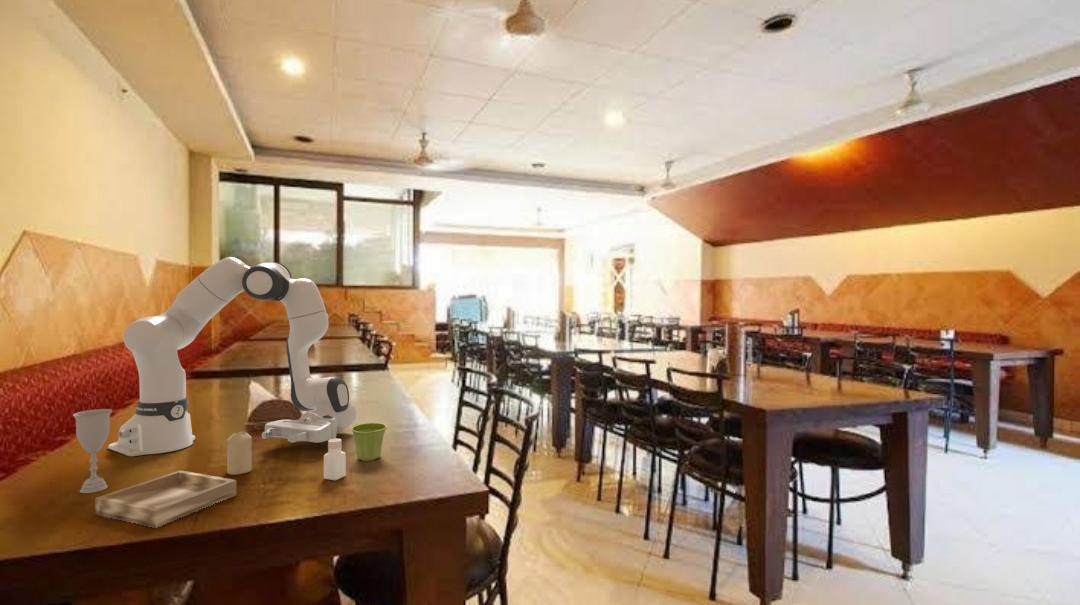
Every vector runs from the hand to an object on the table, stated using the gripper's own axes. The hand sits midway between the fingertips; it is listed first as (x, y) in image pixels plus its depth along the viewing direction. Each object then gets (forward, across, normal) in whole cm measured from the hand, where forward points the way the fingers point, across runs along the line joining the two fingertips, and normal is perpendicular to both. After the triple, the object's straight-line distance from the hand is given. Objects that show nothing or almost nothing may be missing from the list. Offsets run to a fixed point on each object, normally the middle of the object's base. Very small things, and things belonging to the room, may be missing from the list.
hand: (276, 437), depth 147 cm
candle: (+12, 0, +6) cm, 13 cm away
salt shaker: (+7, +26, +6) cm, 27 cm away
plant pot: (-9, +24, +6) cm, 26 cm away
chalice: (+33, -21, +6) cm, 39 cm away
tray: (+33, +4, +6) cm, 34 cm away
